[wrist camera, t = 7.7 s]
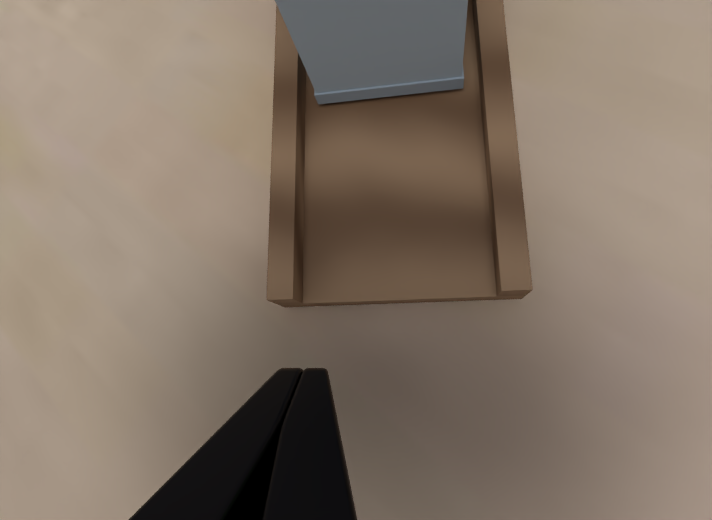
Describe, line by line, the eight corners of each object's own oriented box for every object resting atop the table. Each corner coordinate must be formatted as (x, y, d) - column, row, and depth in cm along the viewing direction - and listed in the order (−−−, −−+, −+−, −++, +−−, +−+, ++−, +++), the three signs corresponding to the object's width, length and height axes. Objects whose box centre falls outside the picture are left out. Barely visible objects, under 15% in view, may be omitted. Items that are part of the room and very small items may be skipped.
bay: (521, 298, 21) (546, 278, 16) (284, 307, 23) (243, 290, 18) (488, -48, 25) (499, -145, 20) (292, -17, 27) (261, -100, 22)
